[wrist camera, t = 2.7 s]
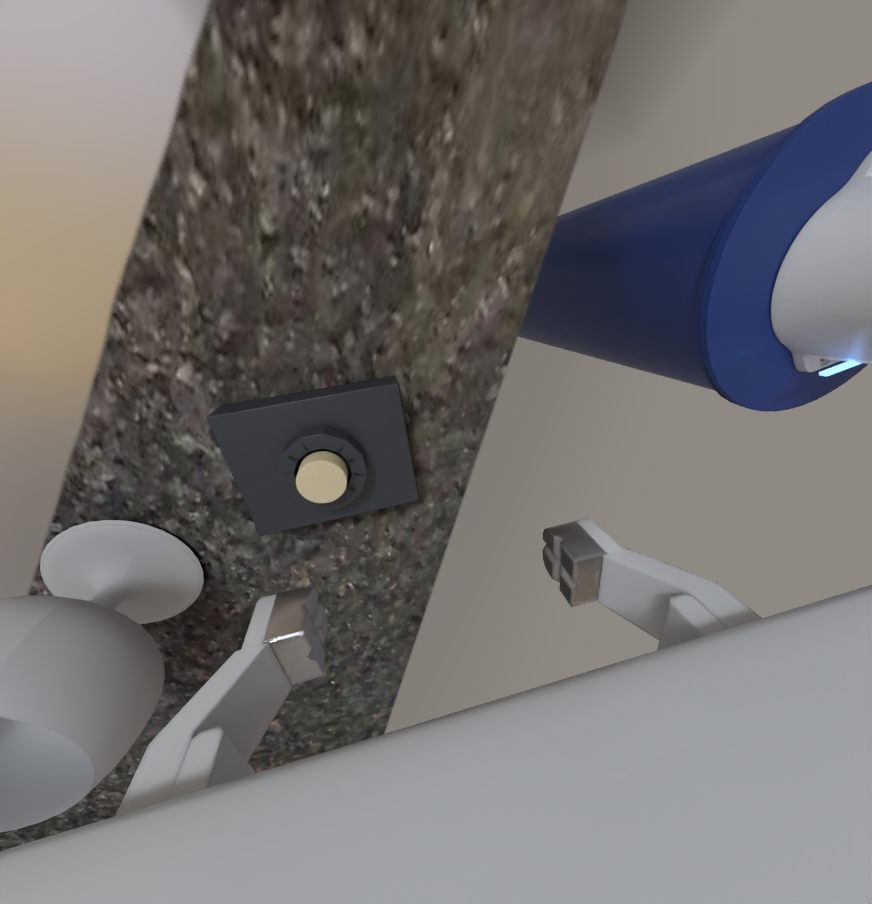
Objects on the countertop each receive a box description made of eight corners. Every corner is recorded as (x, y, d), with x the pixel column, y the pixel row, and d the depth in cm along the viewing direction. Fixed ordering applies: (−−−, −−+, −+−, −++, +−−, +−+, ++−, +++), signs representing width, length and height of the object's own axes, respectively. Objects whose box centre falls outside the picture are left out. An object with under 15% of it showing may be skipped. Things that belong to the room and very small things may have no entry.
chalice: (47, 484, 27) (-262, 675, 13) (237, 537, 32) (150, 712, 19) (16, 609, 30) (-249, 855, 17) (190, 638, 36) (91, 844, 22)
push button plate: (394, 375, 29) (400, 388, 25) (414, 485, 34) (422, 512, 30) (219, 406, 27) (195, 425, 23) (267, 518, 32) (254, 550, 28)
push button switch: (341, 446, 26) (340, 456, 24) (352, 486, 28) (352, 497, 26) (293, 456, 26) (288, 466, 24) (307, 496, 27) (303, 508, 26)
